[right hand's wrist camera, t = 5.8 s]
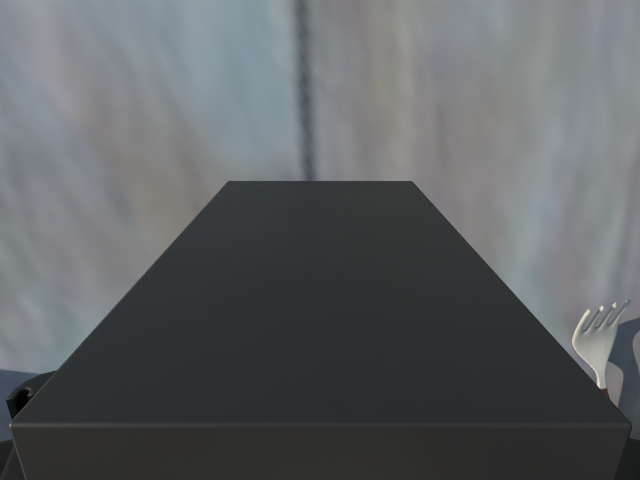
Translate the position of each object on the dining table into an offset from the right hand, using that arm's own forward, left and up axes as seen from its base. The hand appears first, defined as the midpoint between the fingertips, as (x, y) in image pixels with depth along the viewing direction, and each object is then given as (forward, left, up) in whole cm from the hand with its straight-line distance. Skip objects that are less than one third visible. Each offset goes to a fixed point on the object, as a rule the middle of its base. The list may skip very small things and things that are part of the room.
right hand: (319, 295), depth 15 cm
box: (+5, +8, -2) cm, 10 cm away
